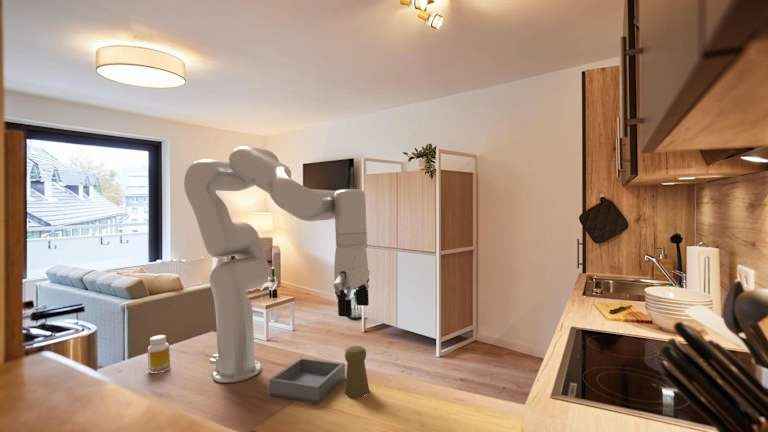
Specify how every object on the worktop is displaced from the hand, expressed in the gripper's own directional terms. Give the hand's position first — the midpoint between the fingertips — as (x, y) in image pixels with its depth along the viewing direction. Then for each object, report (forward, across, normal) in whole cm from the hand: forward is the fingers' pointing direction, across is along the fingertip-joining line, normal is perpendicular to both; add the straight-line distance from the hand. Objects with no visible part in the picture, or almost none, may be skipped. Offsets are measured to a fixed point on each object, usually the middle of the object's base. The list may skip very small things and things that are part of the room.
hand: (354, 310), depth 92 cm
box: (+20, +1, -13) cm, 24 cm away
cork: (+20, 0, 0) cm, 20 cm away
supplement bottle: (+20, +5, -61) cm, 65 cm away
